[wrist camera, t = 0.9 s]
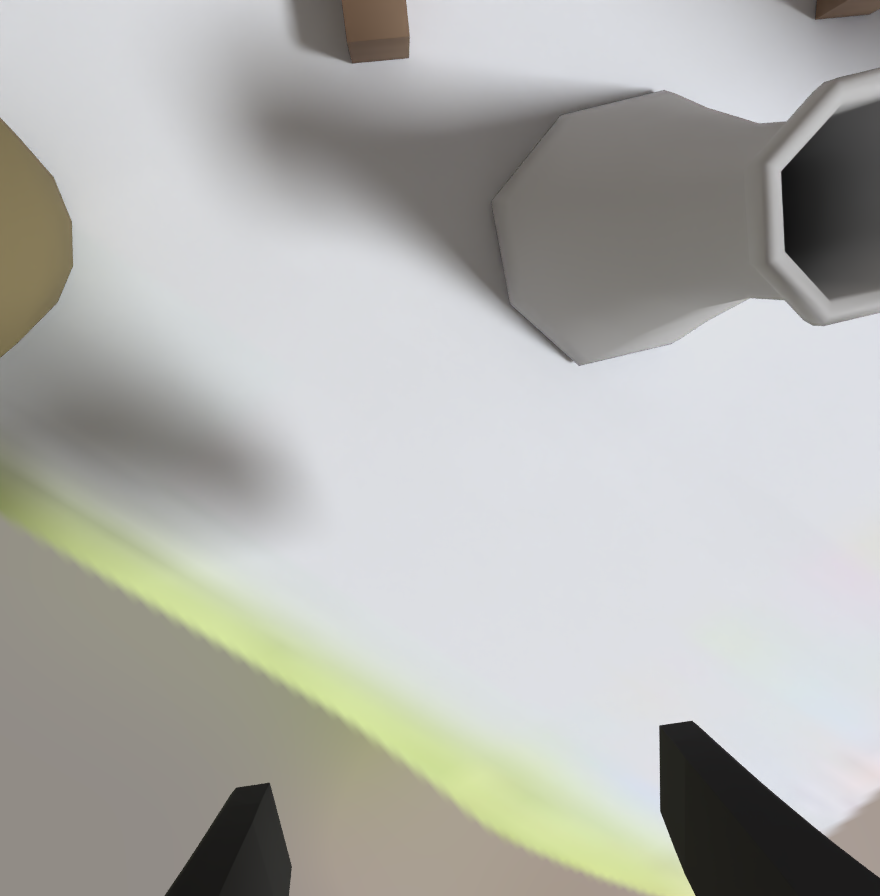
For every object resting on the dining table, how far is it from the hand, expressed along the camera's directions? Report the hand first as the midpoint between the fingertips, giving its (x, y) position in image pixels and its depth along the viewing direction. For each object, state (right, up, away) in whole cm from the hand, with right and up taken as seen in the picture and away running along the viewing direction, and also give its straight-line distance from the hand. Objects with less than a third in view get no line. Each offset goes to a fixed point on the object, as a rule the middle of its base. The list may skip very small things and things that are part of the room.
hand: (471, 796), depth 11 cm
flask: (+5, +13, +7) cm, 15 cm away
